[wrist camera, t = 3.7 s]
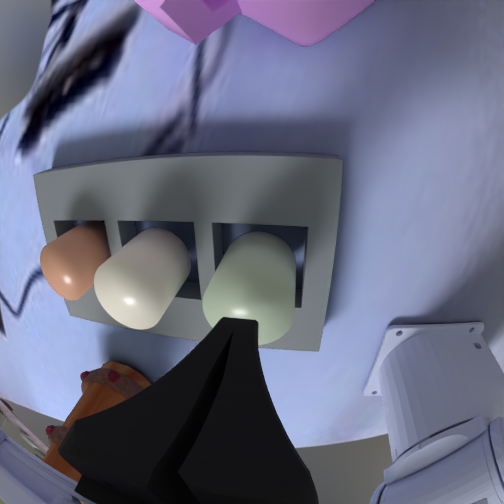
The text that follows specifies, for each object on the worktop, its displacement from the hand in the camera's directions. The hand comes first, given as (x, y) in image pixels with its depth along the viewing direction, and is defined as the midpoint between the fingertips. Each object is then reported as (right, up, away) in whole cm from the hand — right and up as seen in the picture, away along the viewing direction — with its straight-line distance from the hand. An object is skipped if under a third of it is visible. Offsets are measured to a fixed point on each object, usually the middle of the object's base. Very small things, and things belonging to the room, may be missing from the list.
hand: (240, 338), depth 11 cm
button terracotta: (-11, +4, +8) cm, 14 cm away
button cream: (-5, +3, +6) cm, 8 cm away
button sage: (+1, +3, +5) cm, 6 cm away
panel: (-5, +4, +8) cm, 10 cm away
